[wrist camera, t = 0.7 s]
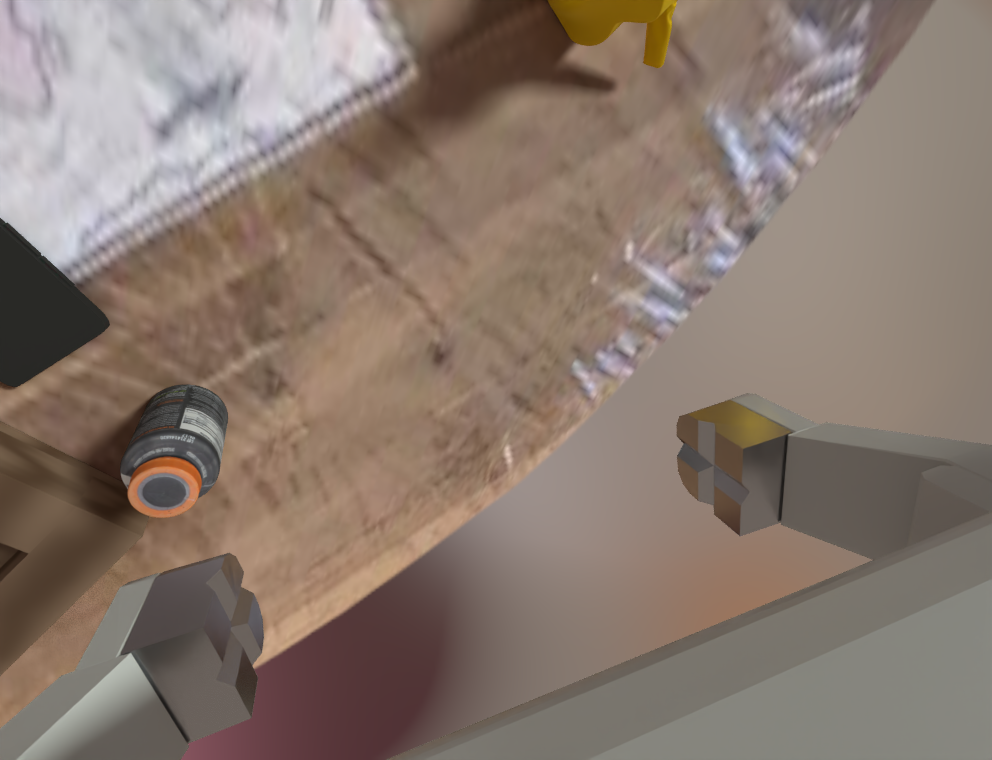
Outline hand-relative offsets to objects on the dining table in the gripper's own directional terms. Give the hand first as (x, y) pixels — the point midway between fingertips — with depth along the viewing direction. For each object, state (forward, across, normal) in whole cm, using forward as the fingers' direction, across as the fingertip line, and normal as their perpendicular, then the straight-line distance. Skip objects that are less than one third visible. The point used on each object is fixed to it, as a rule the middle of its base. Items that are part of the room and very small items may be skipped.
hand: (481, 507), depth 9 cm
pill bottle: (+37, +17, +10) cm, 42 cm away
